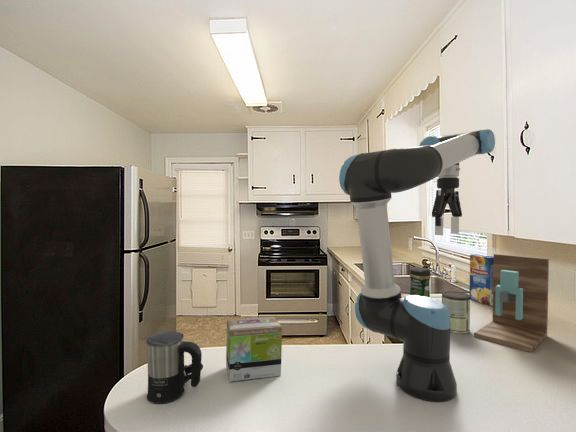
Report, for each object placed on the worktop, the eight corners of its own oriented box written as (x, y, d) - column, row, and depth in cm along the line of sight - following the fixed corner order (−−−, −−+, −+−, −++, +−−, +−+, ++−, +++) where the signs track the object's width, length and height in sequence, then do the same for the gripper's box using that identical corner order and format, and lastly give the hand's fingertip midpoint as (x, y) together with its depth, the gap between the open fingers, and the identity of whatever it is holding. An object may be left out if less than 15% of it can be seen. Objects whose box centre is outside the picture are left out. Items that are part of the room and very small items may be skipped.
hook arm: (507, 302, 119) (507, 292, 118) (499, 301, 120) (500, 291, 120) (522, 294, 130) (522, 285, 130) (514, 293, 132) (515, 284, 132)
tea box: (229, 384, 91) (229, 330, 90) (225, 367, 100) (225, 318, 100) (282, 376, 95) (282, 325, 94) (274, 361, 104) (274, 314, 104)
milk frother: (143, 407, 80) (142, 346, 80) (151, 375, 95) (151, 324, 95) (204, 398, 84) (203, 340, 83) (202, 369, 99) (202, 320, 99)
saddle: (520, 320, 119) (521, 273, 119) (495, 314, 125) (495, 270, 125) (522, 318, 121) (523, 272, 121) (497, 313, 127) (498, 269, 127)
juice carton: (500, 304, 169) (501, 257, 168) (489, 305, 166) (490, 257, 166) (479, 298, 180) (480, 254, 180) (469, 299, 178) (469, 254, 177)
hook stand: (531, 352, 112) (533, 265, 111) (473, 336, 125) (475, 258, 125) (547, 336, 126) (548, 258, 125) (494, 323, 140) (495, 253, 139)
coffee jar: (406, 302, 171) (406, 266, 170) (416, 300, 175) (416, 265, 175) (423, 307, 162) (423, 269, 162) (432, 305, 167) (433, 268, 166)
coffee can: (437, 324, 139) (438, 290, 139) (463, 325, 138) (463, 291, 138) (446, 333, 129) (447, 297, 128) (474, 334, 128) (475, 298, 127)
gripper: (443, 174, 113) (442, 236, 113) (471, 179, 129) (470, 233, 130) (422, 176, 119) (421, 235, 119) (452, 180, 135) (451, 232, 135)
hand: (447, 234), depth 124 cm, fingers open, 13 cm apart
